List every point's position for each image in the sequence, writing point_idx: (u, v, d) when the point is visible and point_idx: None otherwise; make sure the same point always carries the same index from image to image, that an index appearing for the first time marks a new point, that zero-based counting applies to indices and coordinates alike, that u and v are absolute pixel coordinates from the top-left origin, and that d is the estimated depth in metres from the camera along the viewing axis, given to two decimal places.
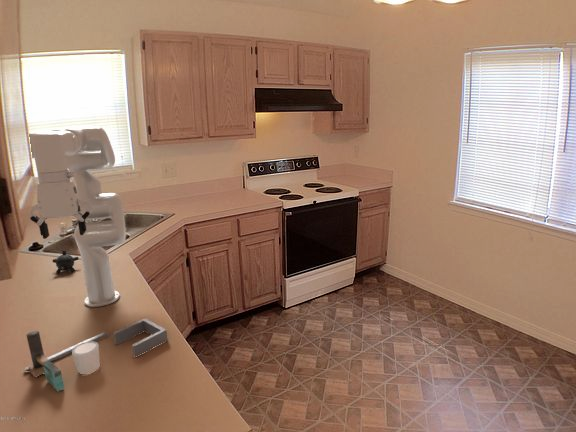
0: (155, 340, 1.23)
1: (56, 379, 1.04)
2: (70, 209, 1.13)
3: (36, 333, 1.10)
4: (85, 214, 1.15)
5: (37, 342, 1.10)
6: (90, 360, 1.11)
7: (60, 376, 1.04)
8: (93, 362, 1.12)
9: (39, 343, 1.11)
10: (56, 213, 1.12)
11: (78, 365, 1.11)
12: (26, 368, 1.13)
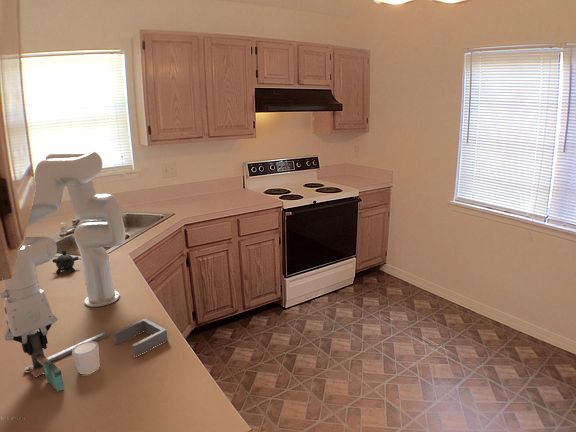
0: (155, 340, 1.23)
1: (56, 379, 1.04)
2: None
3: (36, 333, 1.10)
4: None
5: (37, 342, 1.10)
6: (90, 360, 1.11)
7: (60, 376, 1.04)
8: (93, 362, 1.12)
9: (39, 343, 1.11)
10: None
11: (78, 365, 1.11)
12: (26, 368, 1.13)
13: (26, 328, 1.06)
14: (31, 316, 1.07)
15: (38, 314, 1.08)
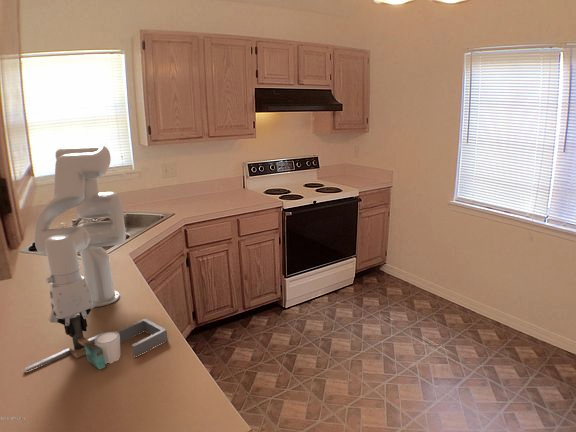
0: (155, 340, 1.23)
1: (98, 358, 1.12)
2: None
3: (77, 316, 1.19)
4: None
5: (78, 325, 1.19)
6: (112, 349, 1.16)
7: (102, 355, 1.13)
8: (115, 351, 1.16)
9: (80, 326, 1.19)
10: None
11: None
12: (26, 368, 1.13)
13: (69, 311, 1.15)
14: (74, 300, 1.15)
15: (80, 299, 1.17)
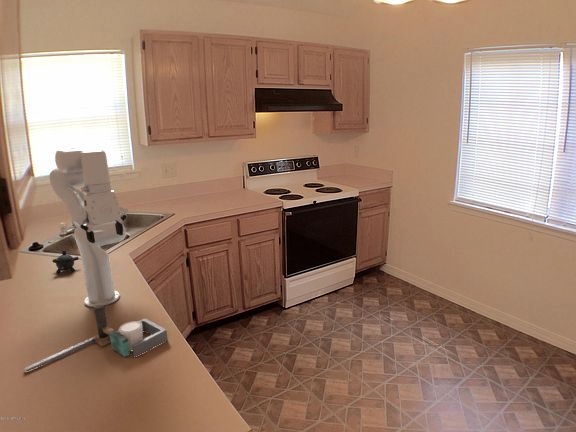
0: (155, 340, 1.23)
1: (123, 346, 1.18)
2: None
3: (102, 307, 1.24)
4: None
5: (103, 314, 1.24)
6: (136, 337, 1.21)
7: (126, 343, 1.18)
8: (138, 339, 1.22)
9: (104, 315, 1.25)
10: None
11: None
12: (26, 368, 1.13)
13: (101, 219, 1.28)
14: (105, 209, 1.29)
15: (110, 209, 1.30)
